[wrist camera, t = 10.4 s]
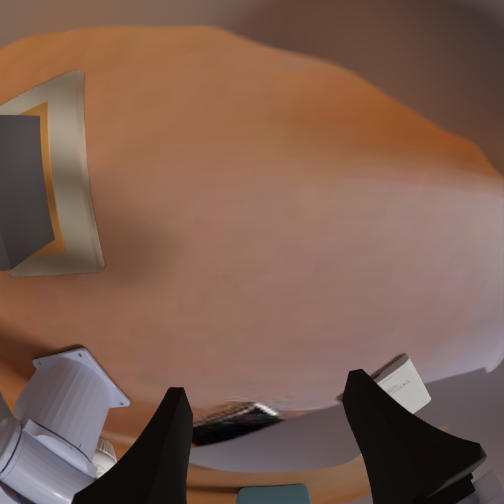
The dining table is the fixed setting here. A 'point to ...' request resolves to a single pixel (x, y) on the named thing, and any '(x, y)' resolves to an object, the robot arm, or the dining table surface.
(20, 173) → the block
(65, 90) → the board
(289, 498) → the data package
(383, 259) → the dining table surface
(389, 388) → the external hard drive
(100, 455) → the muffin
